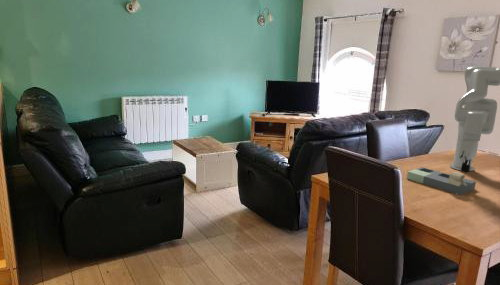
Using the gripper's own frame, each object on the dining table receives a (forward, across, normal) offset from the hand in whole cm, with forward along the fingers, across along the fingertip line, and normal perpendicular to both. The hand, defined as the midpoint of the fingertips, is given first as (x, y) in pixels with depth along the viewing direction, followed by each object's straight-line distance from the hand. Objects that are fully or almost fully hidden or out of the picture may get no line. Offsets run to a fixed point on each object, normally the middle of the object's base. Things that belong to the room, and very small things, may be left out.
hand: (464, 171), depth 183 cm
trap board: (+8, +5, -9) cm, 13 cm away
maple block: (+4, +10, +1) cm, 11 cm away
